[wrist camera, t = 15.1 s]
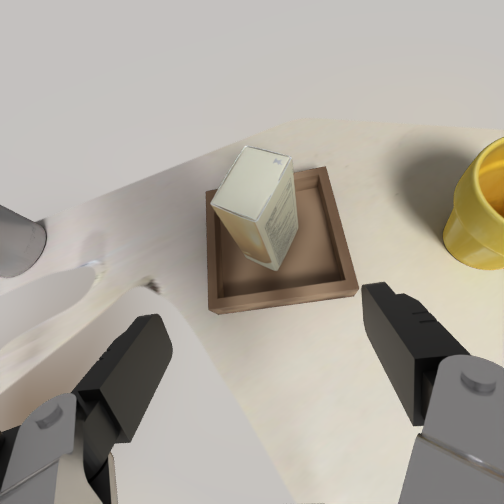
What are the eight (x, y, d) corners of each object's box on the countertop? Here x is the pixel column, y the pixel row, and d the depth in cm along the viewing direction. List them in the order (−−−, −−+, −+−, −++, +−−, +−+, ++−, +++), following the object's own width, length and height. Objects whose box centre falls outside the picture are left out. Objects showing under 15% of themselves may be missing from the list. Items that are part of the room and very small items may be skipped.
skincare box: (267, 216, 32) (246, 140, 21) (300, 227, 30) (295, 152, 19) (243, 260, 30) (206, 203, 19) (276, 274, 29) (256, 221, 18)
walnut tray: (218, 314, 29) (208, 309, 26) (214, 205, 35) (205, 191, 32) (353, 296, 27) (359, 288, 24) (324, 183, 33) (325, 166, 30)
